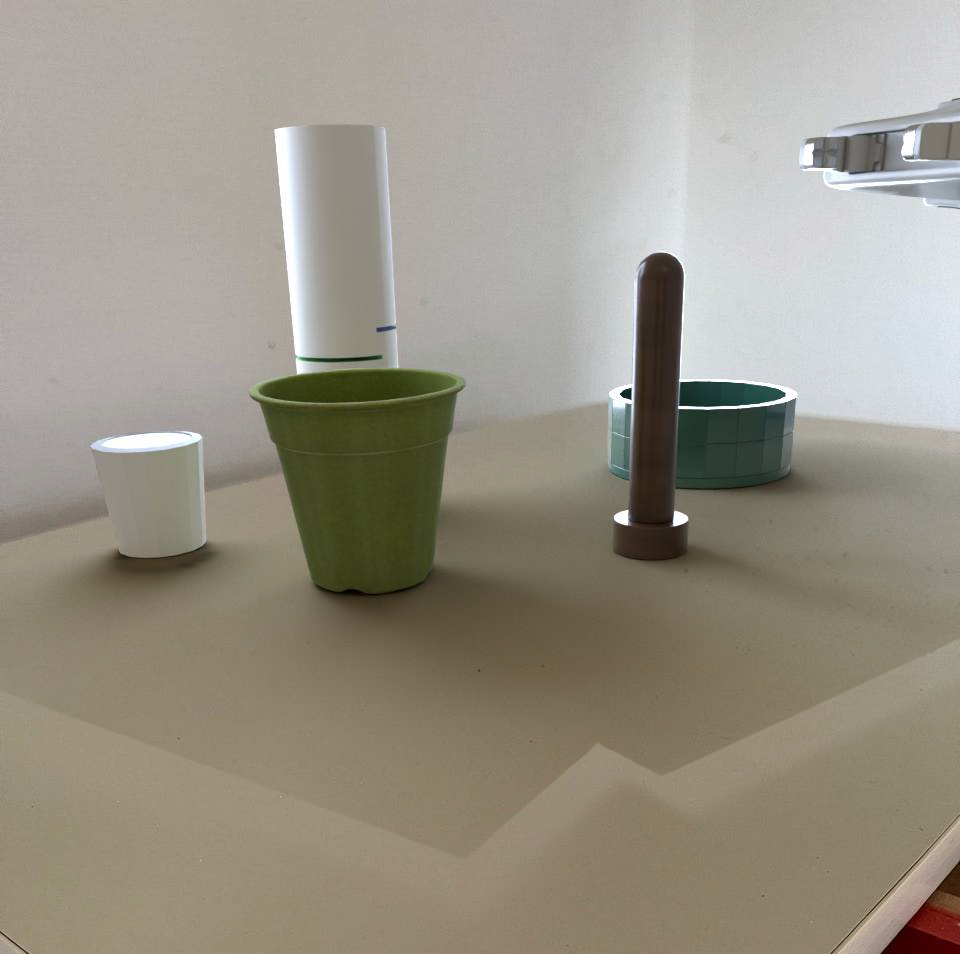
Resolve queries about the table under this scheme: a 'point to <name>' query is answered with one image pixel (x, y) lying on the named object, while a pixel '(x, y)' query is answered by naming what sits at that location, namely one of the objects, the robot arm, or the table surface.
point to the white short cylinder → (153, 491)
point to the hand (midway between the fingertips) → (854, 148)
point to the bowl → (717, 433)
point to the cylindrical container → (338, 245)
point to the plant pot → (363, 469)
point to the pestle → (654, 415)
